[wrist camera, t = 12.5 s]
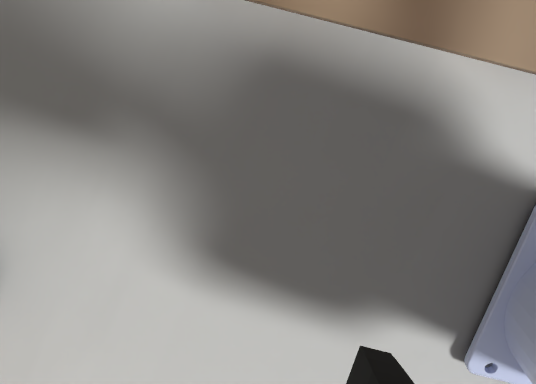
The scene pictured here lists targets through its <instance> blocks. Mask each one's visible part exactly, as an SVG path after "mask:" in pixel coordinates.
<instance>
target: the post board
mask: <svg viewBox="0 0 536 384" xmlns="http://www.w3.org/2000/svg"><path fill="white" fill-rule="evenodd" d="M246 1H250V2H254V3H258V4H262V5H266V6H270V7H274V8H277V9H281V10H285V11H289V12H293V13H297V14H301V15H305V16H309V17H313V18H317V19H321V20H324V21H328V22H332V23H336V24H340V25H344V26H348V27H352V28H356V29H360V30H364V31H368V32H371V33H375V34H379V35H383V36H387V37H391V38H395V39H399V40H403V41H407V42H411V43H415V44H418V45H422V46H426V47H430V48H434V49H438V50H442V51H446V52H450V53H454V54H458V55H462V56H466V57H469V58H473V59H477V60H481V61H485V62H489V63H493V64H497V65H501V66H505V67H509V68H513V69H516V70H520V71H524V72H528V73H532V74H536V0H246Z"/></svg>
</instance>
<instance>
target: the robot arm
mask: <svg viewBox="0 0 536 384" xmlns="http://www.w3.org/2000/svg"><path fill="white" fill-rule="evenodd" d="M464 362H465V365H466V367H467V369H468V370H469V371H470V372H471V373H473V374H476V375H480V376H484V377H488V378H492V379H496V380H500V381H504V382H508V383H512V384H536V205H535V207H534V209H533V211H532V213H531V215H530V218H529V220H528V222H527V224H526V226H525V228H524V231H523V233H522V235H521V237H520V239H519V241H518V244H517V246H516V248H515V250H514V252H513V254H512V257H511V259H510V261H509V263H508V265H507V267H506V269H505V272H504V274H503V276H502V278H501V280H500V282H499V285H498V287H497V289H496V291H495V293H494V295H493V298H492V300H491V302H490V304H489V306H488V308H487V311H486V313H485V315H484V317H483V319H482V321H481V324H480V326H479V328H478V330H477V332H476V334H475V336H474V339H473V341H472V343H471V345H470V347H469V349H468V352H467V354H466V356H465V359H464ZM489 363H493V364H492V366H490V367H485V366H486V365H487V364H489ZM346 384H414V383H413V381H412V380H411V379H410V377H409V376H408V375H407V373H406V372H405V371H404V369H403V368H402V367H401V365H400V364H399V363H398V362H397V360H396V359H395V358H394V357H393V356H392V354H391V353H387V352H383V351H379V350H375V349H371V348H367V347H363V346H360V347H359V350H358V353H357V356H356V358H355V361H354V364H353V366H352V369H351V372H350V375H349V377H348V380H347V383H346Z"/></svg>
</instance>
